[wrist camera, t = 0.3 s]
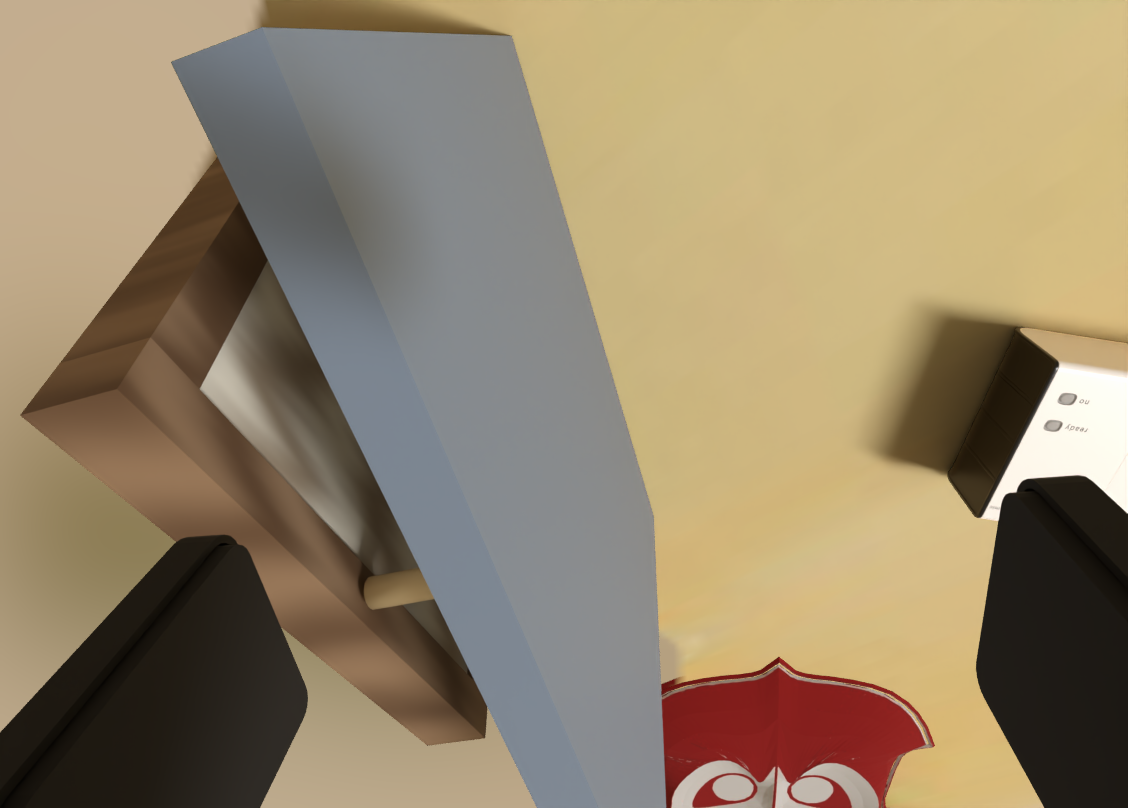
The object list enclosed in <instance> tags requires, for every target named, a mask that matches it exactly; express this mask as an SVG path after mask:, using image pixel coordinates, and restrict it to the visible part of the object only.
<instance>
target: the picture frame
mask: <svg viewBox="0 0 1128 808" xmlns="http://www.w3.org/2000/svg"><path fill="white" fill-rule="evenodd" d="M21 416H22V417H23V418H24V419H25V420H27V421H28V422H29V423H30V424H31V425H33V426H34V427H35V428H36V429H38V430H39V431H40V432H41V433H43V434H44V435H45V436H46V437H48V438H49V439H50V440H51V441H53V442H54V443H55V444H56V445H58V446H59V447H60V448H61V449H62V450H64V451H65V452H66V453H67V454H68V455H70V456H71V457H72V458H74V459H75V460H76V461H77V462H78V463H80V464H81V465H82V466H84V467H85V468H86V469H87V470H88V471H89V472H91V473H92V474H93V475H94V476H96V477H97V478H98V479H99V480H101V481H102V482H103V483H104V484H106V485H107V486H108V487H109V488H110V489H112V490H113V491H114V492H115V493H117V494H118V495H119V496H120V497H122V498H123V499H124V500H125V501H126V502H128V503H129V504H130V505H132V506H133V507H134V508H135V509H137V510H138V511H139V512H140V513H141V514H143V515H144V516H145V517H146V518H147V519H149V520H150V521H151V522H152V523H154V524H155V525H156V526H157V527H159V528H160V529H161V530H162V531H164V532H165V533H166V534H167V535H168V536H170V537H171V538H172V539H173V540H175V541H176V542H177V541H179V540H180V539H182V538H186V537H194V536H209V535H223V534H225V535H229V536H231V537H232V538H234V539H235V540H236V542H237V543H238V544H239V545H243V546H244V547H246V548H247V550H248V551H249V553H250V555H251V557H252V560H253V562H254V564H255V567H256V569H257V572H258V574H259V576H260V579H261V581H262V583H263V586H264V588H265V591H266V593H267V595H268V598H269V600H270V602H271V605H272V607H273V610H274V612H275V614H276V617H277V619H278V621H279V624H280V626H281V627H282V628H283V629H284V630H286V631H287V632H288V633H289V634H291V635H292V636H293V637H294V638H295V639H297V640H298V641H299V642H300V643H302V644H303V645H304V646H305V647H307V648H308V649H309V650H310V651H311V652H313V653H314V654H315V655H316V656H318V657H319V658H320V659H321V660H323V661H324V662H325V663H326V664H328V665H329V666H330V667H331V668H332V669H334V670H335V671H336V672H337V673H339V674H340V675H341V676H342V677H344V678H345V679H346V680H347V681H349V682H350V683H351V684H352V685H354V686H355V687H356V688H357V689H358V690H360V691H361V692H362V693H363V694H365V695H366V696H367V697H368V698H369V699H371V700H372V701H373V702H375V703H376V704H377V705H378V706H380V707H381V708H382V709H383V710H384V711H386V712H387V713H388V714H389V715H391V716H392V717H393V718H394V719H396V720H397V721H398V722H399V723H400V724H402V725H403V726H404V727H405V728H407V729H408V730H409V731H410V732H411V733H413V734H414V735H415V736H416V737H418V738H419V739H420V740H421V741H423V742H424V743H425V744H426V745H427V746H428V745H435V744H443V743H451V742H459V741H466V740H474V739H481V738H485V733H486V719H487V705H486V703H485V701H484V699H483V697H482V695H481V693H480V691H479V689H478V687H477V684H476V682H475V680H474V678H473V676H472V674H471V672H470V670H469V668H468V666H467V664H466V662H465V660H464V658H463V656H462V654H461V652H460V650H459V648H458V646H457V644H456V642H455V640H454V638H453V636H452V634H451V632H450V630H449V627H448V625H447V623H446V621H445V619H444V617H443V615H442V613H441V611H440V609H439V607H438V605H437V603H436V601H435V599H432V600H426V601H421V602H415V603H409V604H404V605H398V606H392V607H387V608H381V609H375V610H372V609H370V608H369V607H368V605H367V604H366V601H365V598H364V585H365V582H366V580H367V578H368V577H371V576H376V575H382V574H387V573H393V572H398V571H403V570H409V569H414V568H419V566H418V564H417V562H416V560H415V558H414V556H413V554H412V552H411V550H410V548H409V546H408V544H407V542H406V540H405V538H404V536H403V534H402V532H401V530H400V528H399V526H398V524H397V522H396V520H395V518H394V515H393V513H392V511H391V509H390V507H389V505H388V503H387V501H386V499H385V497H384V495H383V493H382V491H381V489H380V487H379V485H378V483H377V481H376V479H375V477H374V475H373V473H372V471H371V469H370V467H369V465H368V463H367V460H366V458H365V456H364V454H363V452H362V450H361V448H360V446H359V444H358V442H357V440H356V438H355V436H354V434H353V432H352V430H351V428H350V426H349V424H348V422H347V420H346V418H345V416H344V414H343V412H342V410H341V408H340V406H339V403H338V401H337V399H336V397H335V395H334V393H333V391H332V389H331V387H330V385H329V383H328V381H327V379H326V377H325V375H324V373H323V371H322V369H321V367H320V365H319V363H318V361H317V359H316V357H315V355H314V353H313V351H312V348H311V346H310V344H309V342H308V340H307V338H306V336H305V334H304V332H303V330H302V328H301V326H300V324H299V322H298V320H297V318H296V316H295V314H294V312H293V310H292V308H291V306H290V304H289V302H288V300H287V298H286V296H285V294H284V291H283V289H282V287H281V285H280V283H279V281H278V279H277V277H276V275H275V273H274V271H273V269H272V267H271V265H270V263H269V261H268V259H267V257H266V255H265V253H264V251H263V249H262V247H261V245H260V243H259V241H258V239H257V236H256V234H255V232H254V230H253V228H252V226H251V224H250V222H249V220H248V218H247V216H246V214H245V212H244V210H243V208H242V206H241V204H240V202H239V200H238V198H237V196H236V194H235V192H234V190H233V188H232V186H231V184H230V181H229V179H228V177H227V175H226V173H225V171H224V169H223V167H222V165H221V163H220V161H219V159H218V157H217V158H216V160H215V161H214V162H213V164H212V165H211V166H210V168H209V169H208V170H207V171H206V173H205V174H204V175H203V177H202V178H201V179H200V181H199V182H198V183H197V185H196V186H195V187H194V188H193V190H192V191H191V192H190V194H189V195H188V196H187V198H186V199H185V200H184V202H183V203H182V204H181V205H180V207H179V208H178V209H177V211H176V212H175V213H174V215H173V216H172V217H171V219H170V220H169V221H168V223H167V224H166V225H165V226H164V228H163V229H162V230H161V232H160V233H159V234H158V236H157V237H156V238H155V240H154V241H153V242H152V244H151V245H150V246H149V247H148V249H147V250H146V251H145V253H144V254H143V255H142V257H141V258H140V259H139V260H138V262H137V263H136V264H135V266H134V267H133V268H132V270H131V271H130V272H129V274H128V275H127V276H126V278H125V279H124V280H123V281H122V283H121V284H120V285H119V287H118V288H117V289H116V291H115V292H114V293H113V295H112V296H111V297H110V298H109V300H108V301H107V302H106V304H105V305H104V306H103V308H102V309H101V310H100V311H99V313H98V314H97V315H96V317H95V318H94V320H93V321H92V322H91V323H90V325H89V326H88V327H87V329H86V330H85V331H84V332H83V334H82V335H81V336H80V338H79V339H78V340H77V342H76V343H75V344H74V346H73V347H72V348H71V350H70V351H69V352H68V353H67V355H66V356H65V357H64V359H63V360H62V361H61V363H60V364H59V365H58V366H57V368H56V369H55V370H54V372H53V373H52V374H51V376H50V377H49V378H48V380H47V381H46V382H45V383H44V385H43V386H42V387H41V389H40V390H39V391H38V393H37V394H36V395H35V397H34V398H33V399H32V401H31V402H30V403H29V404H28V406H27V407H26V408H25V410H24V411H23V412H22V414H21Z"/></svg>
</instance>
